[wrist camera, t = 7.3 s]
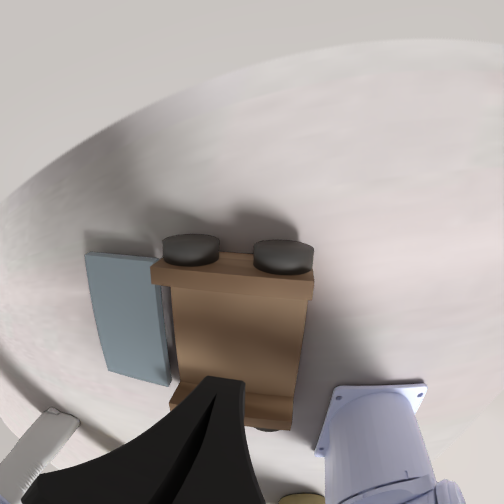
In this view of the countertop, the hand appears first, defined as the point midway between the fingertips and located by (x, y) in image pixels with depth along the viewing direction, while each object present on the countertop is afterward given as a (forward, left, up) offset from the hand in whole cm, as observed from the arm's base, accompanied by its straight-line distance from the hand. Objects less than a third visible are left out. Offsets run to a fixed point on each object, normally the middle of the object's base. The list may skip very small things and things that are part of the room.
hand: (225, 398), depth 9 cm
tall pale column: (-23, +26, -10) cm, 36 cm away
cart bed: (-3, +1, -9) cm, 10 cm away
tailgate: (-3, +6, -8) cm, 11 cm away
